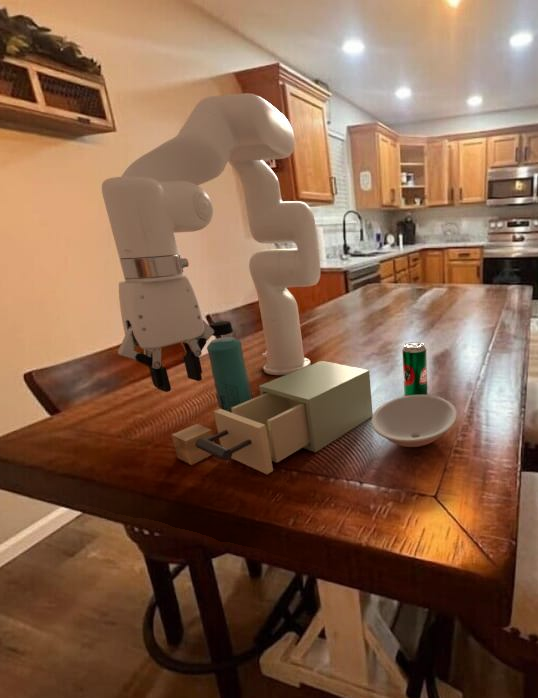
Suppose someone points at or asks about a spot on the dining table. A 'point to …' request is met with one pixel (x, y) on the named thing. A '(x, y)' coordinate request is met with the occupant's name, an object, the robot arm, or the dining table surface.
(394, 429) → the dish
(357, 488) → the dining table surface
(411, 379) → the soda can
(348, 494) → the dining table surface
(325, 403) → the cabinet
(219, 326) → the beverage bottle
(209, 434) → the block
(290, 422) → the drawer
